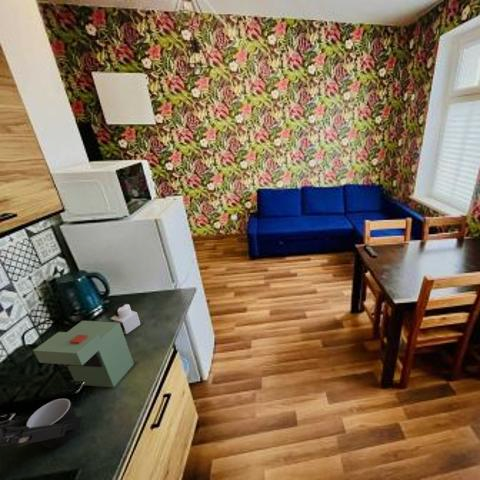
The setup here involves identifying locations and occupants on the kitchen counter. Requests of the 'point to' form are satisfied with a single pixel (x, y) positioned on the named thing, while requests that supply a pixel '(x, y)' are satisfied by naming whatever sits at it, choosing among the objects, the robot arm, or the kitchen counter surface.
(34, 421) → the mug
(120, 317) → the medicine bottle
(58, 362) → the coffee machine
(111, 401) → the kitchen counter surface
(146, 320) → the kitchen counter surface
